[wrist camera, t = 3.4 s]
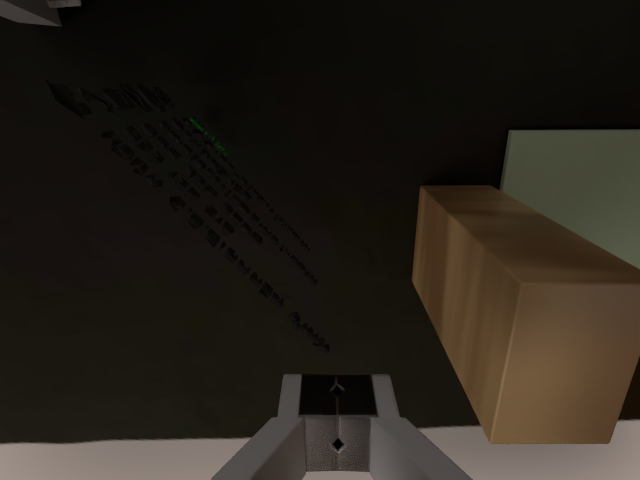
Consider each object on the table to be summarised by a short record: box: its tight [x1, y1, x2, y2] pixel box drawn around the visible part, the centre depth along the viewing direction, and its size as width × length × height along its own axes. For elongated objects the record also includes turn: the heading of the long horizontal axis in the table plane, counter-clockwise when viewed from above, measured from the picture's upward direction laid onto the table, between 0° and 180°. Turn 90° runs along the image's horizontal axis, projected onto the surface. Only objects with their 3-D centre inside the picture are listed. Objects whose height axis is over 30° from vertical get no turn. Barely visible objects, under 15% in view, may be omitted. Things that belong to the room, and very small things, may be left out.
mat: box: [499, 129, 640, 269], centre depth 23 cm, size 14×12×1 cm
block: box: [412, 185, 640, 444], centre depth 18 cm, size 4×6×12 cm, turn 0°
